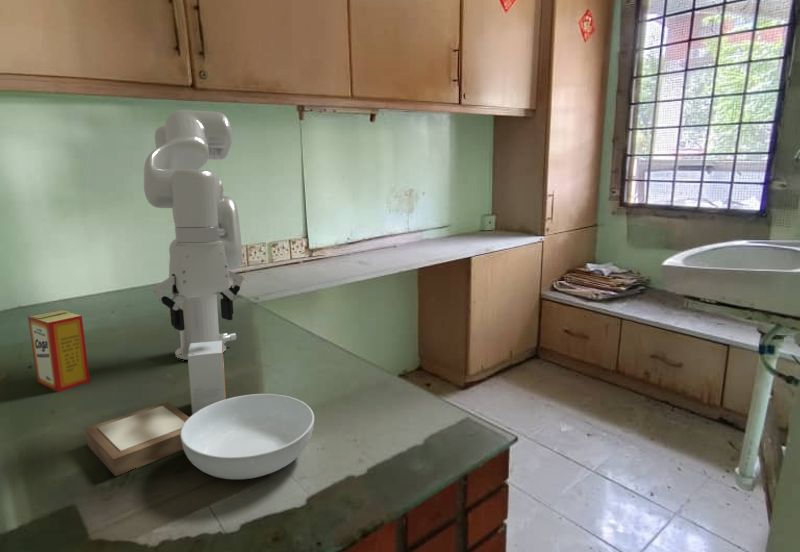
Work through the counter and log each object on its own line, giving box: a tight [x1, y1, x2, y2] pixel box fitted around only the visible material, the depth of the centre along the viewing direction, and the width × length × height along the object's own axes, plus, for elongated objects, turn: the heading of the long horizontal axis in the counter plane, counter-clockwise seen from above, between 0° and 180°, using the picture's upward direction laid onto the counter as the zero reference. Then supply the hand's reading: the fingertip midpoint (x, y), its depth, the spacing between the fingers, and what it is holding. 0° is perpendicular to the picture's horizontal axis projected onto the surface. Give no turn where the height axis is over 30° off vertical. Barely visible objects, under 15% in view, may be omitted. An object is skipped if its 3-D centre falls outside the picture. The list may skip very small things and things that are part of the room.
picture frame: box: [84, 401, 191, 477], centre depth 84 cm, size 14×14×3 cm
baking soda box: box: [27, 309, 91, 393], centre depth 107 cm, size 10×6×16 cm
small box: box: [187, 341, 227, 416], centre depth 96 cm, size 8×6×13 cm
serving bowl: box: [180, 393, 315, 480], centre depth 79 cm, size 21×21×7 cm
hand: (204, 323), depth 93 cm, fingers open, 9 cm apart
